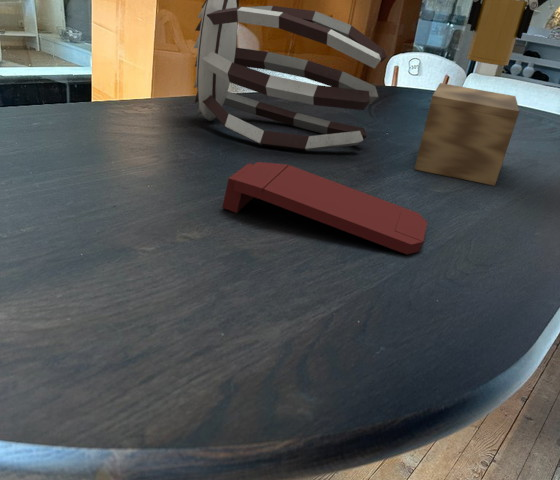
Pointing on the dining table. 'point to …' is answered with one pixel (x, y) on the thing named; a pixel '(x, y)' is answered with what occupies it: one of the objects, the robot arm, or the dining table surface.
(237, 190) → the red hooked ramp
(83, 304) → the dining table surface
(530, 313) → the dining table surface
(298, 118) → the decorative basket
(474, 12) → the robot arm
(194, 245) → the dining table surface
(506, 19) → the cup
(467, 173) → the wooden block
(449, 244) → the dining table surface
